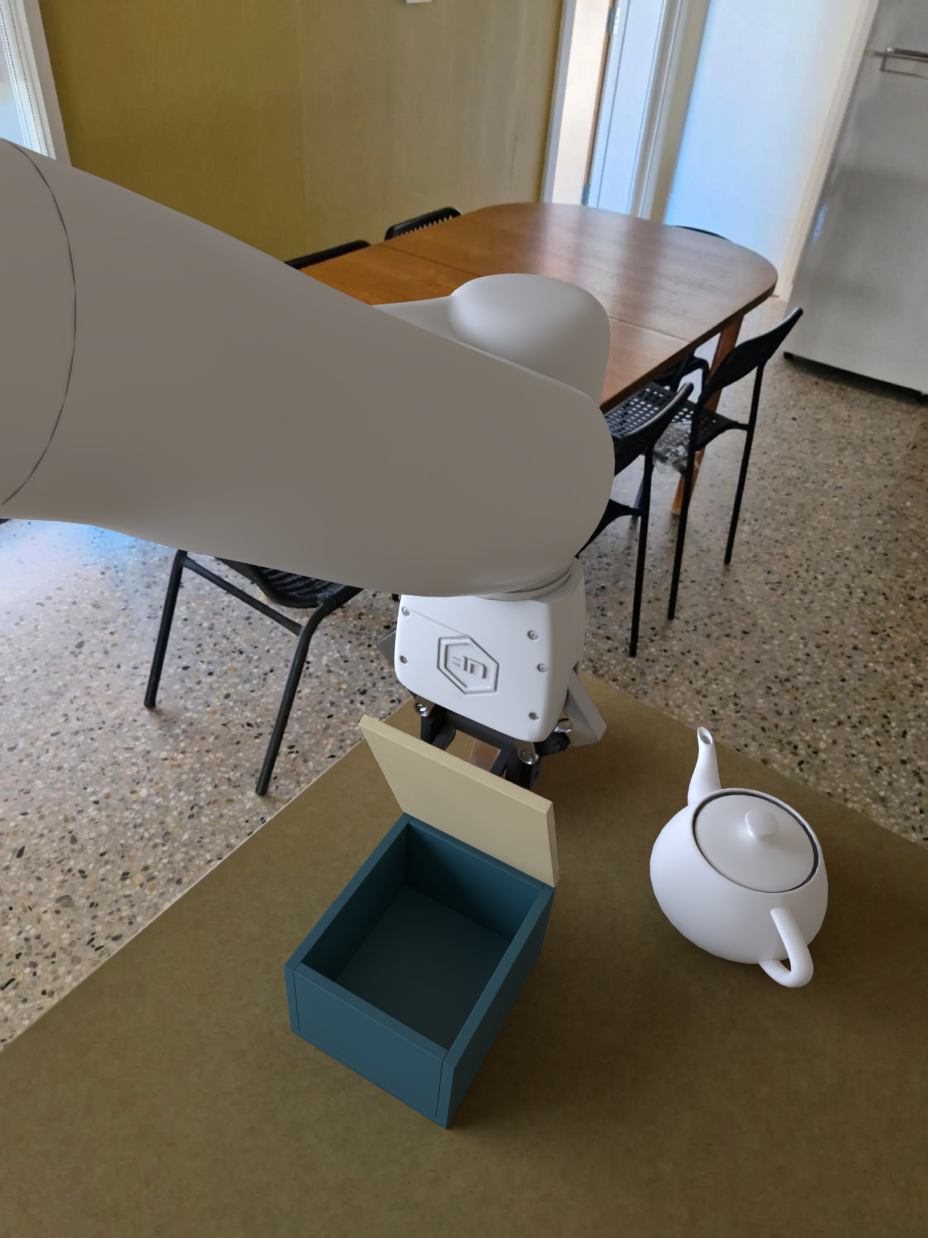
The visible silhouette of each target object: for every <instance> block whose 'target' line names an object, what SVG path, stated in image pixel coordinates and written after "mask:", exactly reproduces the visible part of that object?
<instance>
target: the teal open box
mask: <svg viewBox="0 0 928 1238" xmlns="http://www.w3.org/2000/svg"><path fill="white" fill-rule="evenodd" d="M556 890H557V886H556V887H555V888H554V887H552V886H550V885H548V884H546V883H544V882H542V881H540V880H538V879H536V878H534V877H532V876H530V875H528V874H526V873H524V872H522V871H520V870H518V869H516V868H514V867H512V866H510V865H508V864H506V863H504V862H502V861H500V860H498V859H496V858H494V857H492V856H490V855H488V854H486V853H484V852H482V851H480V850H478V849H477V848H475V847H473V846H471V845H469V844H467V843H465V842H463V841H461V840H459V839H457V838H455V837H453V836H451V835H449V834H447V833H445V832H443V831H441V830H439V829H437V828H435V827H433V826H431V825H429V824H427V823H425V822H423V821H421V820H419V819H417V818H415V817H413V816H411V815H409V814H407V813H405V812H402V814H401V815H400V816H399V818H398V819H397V820H396V821H395V822H394V823H393V825H392V826H391V828H390V829H389V830H388V832H387V833H386V834H385V836H384V837H383V838H382V839H381V840H380V841H379V843H378V844H377V846H375V848H374V849H373V851H372V852H371V853H370V855H369V856H368V857H367V858H366V860H365V861H364V862H363V864H362V865H361V866H360V868H358V870H357V871H356V872H355V874H354V875H353V876H352V878H351V879H350V880H349V881H348V882H347V884H346V885H345V886H344V887H343V889H342V890H341V892H340V893H339V894H338V896H337V897H336V898H335V899H334V901H333V902H331V904H330V906H329V907H328V908H327V910H326V911H324V913H323V914H322V916H321V917H320V918H319V920H318V921H317V922H316V923H315V925H314V926H313V927H312V929H311V930H310V931H309V932H308V933H307V935H306V936H305V937H304V939H303V940H302V941H301V943H300V944H299V945H298V946H297V948H296V949H295V950H294V951H293V953H292V954H291V955H290V956H289V958H288V959H287V960H286V962H284V964H283V973H284V982H285V990H286V999H287V1006H288V1016H289V1024H290V1032H292V1033H293V1034H295V1035H296V1036H298V1037H300V1038H301V1039H302V1040H304V1041H306V1042H307V1043H309V1044H311V1045H312V1046H314V1047H315V1048H317V1049H319V1050H320V1051H321V1052H323V1053H324V1054H326V1055H328V1056H330V1057H331V1058H332V1059H334V1060H335V1061H337V1062H339V1063H340V1064H342V1065H343V1066H345V1067H347V1068H348V1069H349V1070H351V1071H353V1072H355V1073H356V1074H358V1075H359V1076H361V1077H362V1078H364V1080H365V1079H366V1080H367V1081H369V1082H370V1083H372V1084H373V1085H375V1086H376V1087H377V1088H379V1089H381V1090H383V1091H384V1092H386V1093H387V1094H389V1095H390V1096H391V1097H394V1098H395V1099H396V1100H399V1101H400V1102H401V1103H403V1104H405V1105H406V1106H408V1107H409V1108H411V1109H413V1110H414V1111H416V1112H417V1113H419V1114H420V1115H422V1116H423V1117H425V1118H427V1119H428V1120H430V1121H431V1122H433V1123H435V1124H436V1125H437V1126H439V1127H441V1128H442V1129H444V1130H447V1129H448V1127H449V1125H450V1123H451V1122H452V1120H453V1119H454V1116H455V1114H456V1112H457V1110H458V1109H459V1107H460V1105H461V1103H462V1101H463V1099H464V1098H465V1096H466V1094H467V1092H468V1090H469V1088H470V1087H471V1085H472V1083H473V1081H474V1079H475V1077H476V1075H477V1073H478V1072H479V1070H480V1068H481V1067H482V1064H483V1062H484V1060H485V1059H486V1057H487V1055H488V1053H489V1051H490V1049H491V1048H492V1046H493V1043H494V1041H496V1038H497V1036H498V1034H499V1032H500V1031H501V1029H502V1027H503V1025H504V1023H505V1022H506V1019H508V1016H509V1014H510V1012H511V1011H512V1008H513V1007H514V1005H515V1003H516V1001H517V999H518V997H519V995H520V994H521V992H522V991H523V988H524V986H525V984H526V982H527V981H528V979H529V977H530V975H531V973H532V971H533V969H534V967H535V966H536V964H537V962H538V960H539V958H540V956H541V955H542V951H543V945H544V942H545V938H546V933H547V928H548V924H549V920H550V916H551V913H552V912H551V911H552V907H553V903H554V898H555V894H556Z"/></svg>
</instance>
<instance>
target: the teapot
mask: <svg viewBox="0 0 928 1238" xmlns="http://www.w3.org/2000/svg"><path fill="white" fill-rule="evenodd" d="M696 732H697V742H698V754H697V755H698V756H697V760H696V764H695V768H694V771H693V773H692V776H691V779H690V782H689V786H688V791H687V806H685V807H683V808H682V809H681V810H680V811H678V812H676V814H675V815H673V817H671V819H670V820H669V821H668V822H667V823H666V824H665V825H664V826H663V827H662V829H661V830H660V833H659V834H658V835H657V838H656V840H655V842H654V844H653V847H652V851H651V855H650V859H649V877H650V881H651V882H650V883H651V886H652V890H653V893H654V896H655V898H656V901H657V902H658V905H659V907H660V909H661V911H662V913H664V915H665V917H666V918H667V919H668V921H669V922H670V923H671V925H672V926H673V927H674V928H676V930H678V931H679V933H680V934H681V935H682V936H683V937H684V938H686V939H687V940H689V941H690V942H691V943H692V944H694V945H695V946H697V947H698V948H700V949H702V950H703V951H706V952H707V953H709V954H711V955H713V956H716V957H719V958H722V959H725V960H727V961H731V962H736V963H741V964H746V965H755V964H756V965H759V966H760V967H761V968H762V970H764V972H765V973H766V974H767V975H768V976H769V977H770V978H771V979H773V981H775V982H776V983H778V984H780V985H781V986H784V987H786V988H801V987H803V986H806V985H807V984H808V983H809V982H810V981H811V980H812V978H813V975H814V963H813V959H812V956H811V954H810V950H809V947H808V945H809V944H811V943H812V942H813V940H814V939H815V937H816V936H817V934H819V931H820V930H821V928H822V925H823V922H824V919H825V916H826V913H827V909H828V895H829V883H828V875H827V874H828V873H827V869H826V865H825V864H826V863H825V858H824V854H823V850H822V846H821V843H820V841H819V839H818V837H817V835H816V833H815V831H814V830H813V828H812V827H811V825H810V824H809V823H808V821H806V819H805V818H804V817H803V816H802V815H801V814H800V813H799V812H798V811H796V810H795V809H794V808H793V807H792V806H790V805H789V804H787V803H786V802H784V801H783V800H781V799H779V798H777V797H775V796H773V795H770V794H768V793H765V792H762V791H760V790H756V789H751V788H750V789H749V788H745V787H744V788H743V787H728V788H722V784H721V780H720V773H719V766H718V758H717V751H716V750H717V749H716V745H715V744H716V743H715V741H714V738H713V736H712V734H711V732H710V731H709V730H708V729H707V728H706V727H704V726H699V727H698V728H697V731H696ZM787 959H789V962H790V970H789V969H788V968H787V967H786V966H785V965H783V963H782V962H781V961H784V960H787Z"/></svg>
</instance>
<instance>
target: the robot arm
mask: <svg viewBox="0 0 928 1238" xmlns="http://www.w3.org/2000/svg"><path fill="white" fill-rule="evenodd" d="M611 332H612V331H611V324H610V318H609V316H608V313H607V310H606V308H605V307H604V305H603V304H602V303H601V302H600V300H599V299H598V298H597V297H595V296H594V295H593V294H592V293H591V292H589V291H588V290H586V289H584V288H583V287H581V286H579V285H576V284H574V283H571V282H568V281H565V280H562V279H558V278H555V277H551V276H547V275H546V276H545V275H540V274H532V273H515V272H514V273H500V274H499V273H498V274H491V275H485V276H481V277H480V276H479V277H477V278H474V279H470V280H469V281H467V282H465V283H464V284H462V285H460V286H459V287H458V288H456V289H455V290H454V291H453V292H452V293H450V295H447V296H441V297H436V298H430V299H421V300H414V301H413V300H412V301H404V302H393V303H384V304H373V305H371V304H368V303H366V302H364V301H362V300H360V299H358V298H355V297H353V296H351V295H348V294H347V293H344V292H343V291H341V290H338V289H336V288H334V287H332V286H329V285H328V284H326V283H324V282H321V281H320V280H317V279H316V278H314V277H312V276H310V275H309V274H306V273H304V272H302V271H300V270H298V269H296V268H294V267H293V266H290V265H289V264H286V263H285V262H283V261H281V260H279V258H278V259H277V258H275V257H274V256H272V255H270V254H268V253H267V252H264V251H262V250H260V249H258V248H256V247H254V246H252V245H250V244H248V243H246V242H244V241H241V240H240V239H238V238H236V237H234V236H232V235H230V234H228V233H225V232H224V231H222V230H220V229H217V228H216V227H213V226H211V225H209V224H207V223H205V222H202V221H200V220H198V219H196V218H195V217H192V216H189V215H187V214H184V213H183V212H180V211H178V210H175V209H173V208H170V207H169V206H166V205H163V204H162V203H160V202H157V201H156V200H153V199H151V198H148V197H146V196H143V195H141V194H139V193H137V192H135V191H133V190H130V189H128V188H126V187H124V186H122V185H119V184H117V183H114V182H112V181H110V180H107V179H105V178H102V177H100V176H97V175H95V174H92V173H89V172H87V171H84V170H82V169H79V168H76V167H74V166H73V165H69V164H67V163H65V162H62V161H59V160H57V159H54V158H52V157H50V156H47V155H45V154H42V153H40V152H37V151H35V150H32V149H31V148H27V147H25V146H23V145H21V144H18V143H16V142H14V141H11V140H8V139H6V138H4V137H1V136H0V519H4V520H5V519H6V520H7V519H8V520H23V521H24V520H27V521H43V522H59V523H70V524H77V525H87V526H92V527H97V528H100V529H104V530H108V531H112V532H115V533H119V534H122V535H125V536H129V537H133V538H136V539H140V540H142V541H146V542H150V543H153V544H158V545H160V546H165V547H167V548H168V547H169V548H173V549H177V550H180V551H184V552H189V553H194V554H199V555H204V556H209V557H214V558H218V559H223V560H224V559H225V560H230V561H234V562H238V563H239V562H240V563H244V564H248V565H254V566H258V567H264V568H268V569H273V570H278V571H281V572H285V573H289V574H290V573H291V574H295V575H299V576H304V577H308V578H312V579H318V580H321V581H327V582H330V583H334V584H339V585H344V586H348V587H354V588H359V589H364V590H370V591H376V592H381V593H387V594H388V593H389V594H393V595H400V601H399V607H398V613H397V620H396V621H397V622H396V626H395V627H393V628H391V629H390V630H388V631H387V632H386V633H385V635H383V636H382V637H381V638H380V639H379V640H378V642H377V643H376V644H375V645H376V649H377V650H378V652H379V653H380V654H381V655H382V657H383V658H384V659H385V660H386V662H387V663H389V665H390V666H391V667H392V668H393V669H394V672H395V676H396V678H397V680H398V681H399V682H400V684H401V685H402V686H404V687H405V688H406V689H407V691H408V692H409V694H410V695H411V696H412V698H413V699H414V701H413V703H412V708H413V710H414V712H415V713H416V714H417V715H419V716H420V732H419V733H420V734H419V738H420V740H422V741H424V742H426V743H428V744H430V745H432V744H433V742H434V740H435V739H436V737H437V735H438V734H439V732H440V730H441V728H442V727H443V725H444V716H445V713H446V710H447V709H449V710H452V711H454V712H456V713H458V714H460V715H463V716H465V717H467V718H469V719H472V720H474V721H476V722H479V723H481V724H483V725H485V726H488V727H490V728H492V729H495V730H497V731H499V732H502V733H504V734H507V735H509V736H511V737H514V740H515V745H516V748H515V749H514V751H513V752H512V753H511V755H510V756H509V758H508V761H507V768H506V776H505V780H507V781H509V782H511V783H513V784H516V785H518V786H520V787H522V788H524V789H526V790H528V791H532V790H533V788H534V786H535V785H536V783H537V781H538V780H539V777H540V774H541V771H542V765H543V760H544V757H547V756H551V755H555V754H558V753H563V752H565V751H566V750H567V749H568V748H572V747H573V748H574V749H575V748H582V747H583V748H584V747H590V746H596V745H598V744H599V743H600V742H601V740H602V737H603V736H604V734H605V732H606V731H607V729H608V726H607V722H606V721H605V720H604V718H603V716H602V714H601V713H600V711H599V709H598V707H597V706H596V705H595V702H594V701H593V699H592V698H591V696H590V694H589V692H588V691H587V689H586V687H585V685H584V683H583V682H582V681H581V673H582V668H583V659H584V651H585V641H586V640H585V639H586V624H587V623H586V621H587V620H586V619H587V599H586V584H585V583H586V582H585V572H584V566H583V562H582V561H581V560H580V559H578V558H577V557H575V556H576V555H577V554H578V553H579V552H580V551H581V549H582V548H583V547H584V546H585V545H586V544H587V543H588V542H589V540H590V538H591V536H592V535H593V534H594V532H595V531H596V529H597V528H598V526H599V524H600V522H601V520H602V518H603V516H604V514H605V512H606V509H607V506H608V503H609V500H610V499H611V498H610V497H611V494H612V490H613V485H614V480H615V467H616V457H615V447H614V440H613V437H612V433H611V430H610V426H609V424H608V422H607V419H606V417H605V416H604V414H603V412H602V410H601V408H600V407H601V402H602V401H601V400H602V396H603V395H602V394H603V390H604V383H605V378H606V372H607V367H608V362H609V355H610V349H611V348H610V346H611V345H610V344H611V339H612V333H611ZM562 713H564V715H565V717H563V718H562V717H561V715H562ZM560 717H561V718H560ZM456 736H457V730H456V731H455V733H454V735H453V736H452V738H451V740H450V741H449V743H448V745H447V747H446V748H445V750H444V751H445V752H446V750H447V749H448V747H449V746H450V745H451V744H452V742H453V741H454V740H455V738H456Z"/></svg>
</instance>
